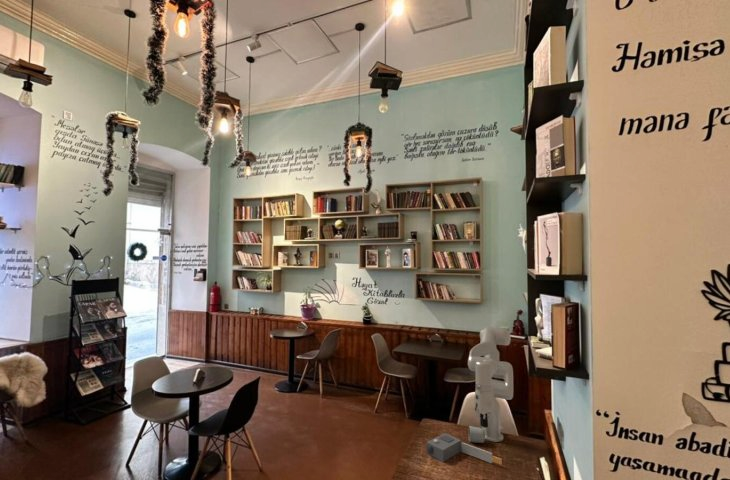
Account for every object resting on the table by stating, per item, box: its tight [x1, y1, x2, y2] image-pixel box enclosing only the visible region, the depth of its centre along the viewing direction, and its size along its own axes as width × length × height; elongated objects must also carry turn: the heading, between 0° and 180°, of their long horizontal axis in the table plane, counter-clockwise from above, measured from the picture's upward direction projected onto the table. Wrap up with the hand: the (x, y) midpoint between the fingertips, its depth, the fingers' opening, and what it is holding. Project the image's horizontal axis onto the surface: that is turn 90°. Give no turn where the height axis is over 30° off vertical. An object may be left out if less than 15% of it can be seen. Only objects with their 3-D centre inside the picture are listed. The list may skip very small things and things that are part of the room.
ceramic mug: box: [467, 425, 486, 444], centre depth 184 cm, size 11×8×8 cm
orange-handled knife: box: [460, 441, 503, 466], centre depth 165 cm, size 20×1×4 cm, turn 50°
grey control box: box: [426, 432, 462, 463], centre depth 170 cm, size 17×10×6 cm, turn 131°
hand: (484, 426), depth 161 cm, fingers closed
